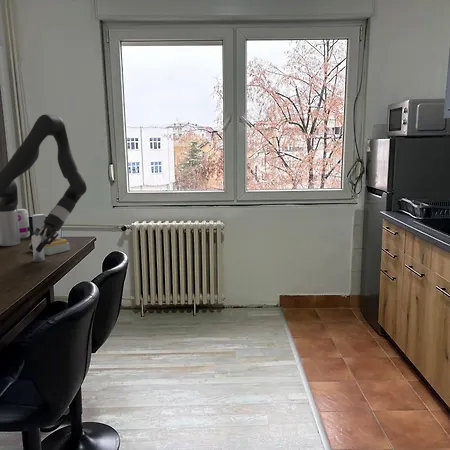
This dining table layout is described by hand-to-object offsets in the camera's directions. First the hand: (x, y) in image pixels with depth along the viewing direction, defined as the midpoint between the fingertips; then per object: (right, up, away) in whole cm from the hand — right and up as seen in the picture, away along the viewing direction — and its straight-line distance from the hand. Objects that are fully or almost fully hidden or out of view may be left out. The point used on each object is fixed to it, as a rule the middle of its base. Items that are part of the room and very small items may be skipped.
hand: (34, 250), depth 178 cm
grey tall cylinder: (+1, -5, +2) cm, 5 cm away
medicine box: (-9, +3, +45) cm, 46 cm away
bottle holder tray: (-2, -1, +20) cm, 20 cm away
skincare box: (-20, +4, +51) cm, 55 cm away
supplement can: (-30, +4, +51) cm, 59 cm away
